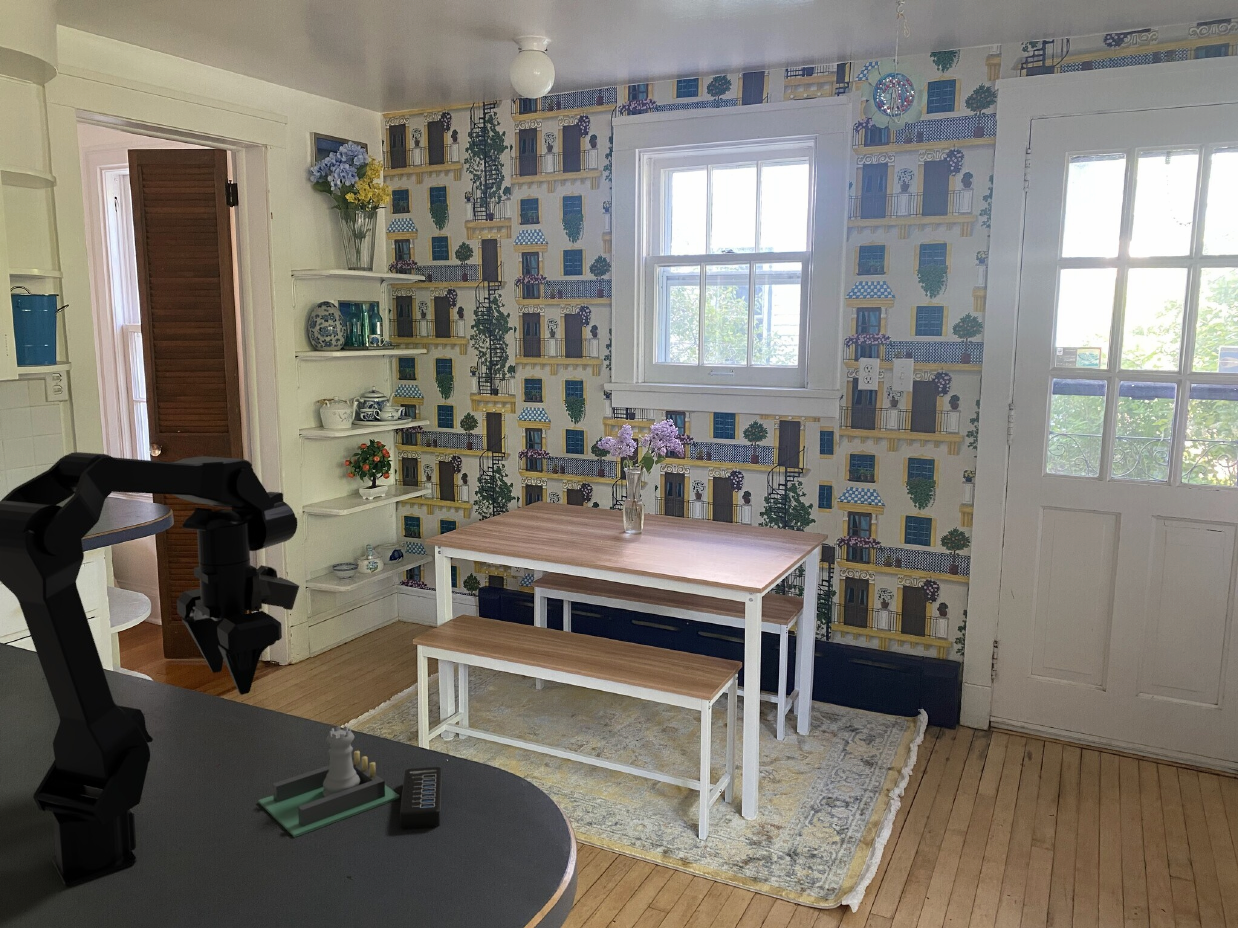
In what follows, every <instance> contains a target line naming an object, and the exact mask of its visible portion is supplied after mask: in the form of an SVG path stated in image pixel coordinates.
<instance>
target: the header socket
mask: <svg viewBox="0 0 1238 928" xmlns="http://www.w3.org/2000/svg"><path fill="white" fill-rule="evenodd" d="M360 755H361V752H360V750H355V751H354V752H353V757H352V763H353V768H354V770H355V771H356V774H358V776H359V778H360V783H359V784H360V785H358V786H355V787H353V788H350V789H347V790H344V791H341V792H338V793H335V794H333V795H330V796H327V797H325V796H324V795H323V793H322V791H323V789H324V787H323V782H324V780H325V778H326V775H327V773H328V772H329V766H330V764H329V765H326V766H323V767H320V768H317V769H314V770H313V769H312V770H310V771H307V772H304V773H301V774H298V775H295V776H291V777H289V778H286V779H283V780H280V781H276V782H274V783H272V790H273V791H272V794H273V795H270V796H267V797H263V798H260V799H258V801H257V803H258V804H259V805H260V806H261V807H263V809H265V810H266V812H268V814H270V815H271V817H272V818H274V819H275V820H276V821H277V823H279V824H280V826H282V827H283V828H284V829H285V830H286V831H287V832H288V833H289V834H290V835H291V836H292V837H293V838H297V837H299V836H301V835H305V834H307V833H311V832H312V831H315V830H319V829H320V828H323V827H326V826H329V825H331V824H333V823H338V822H339V821H342V820H345V819H347V818H351V817H353V816H356V815H358V814H360V813H361V814H362V813H363V812H367V811H369V810H371V809H375V808H378V807H379V806H383V805H385V804H387V803H391V802H393V801H396V800H398V799H400V798H401V797H400V794H398V793H397V792H395V791H394V790H393V789H392V788H390V787H389V786H387V784H385V783H386V781H385V779H383V778H381V777H380V776H379V775H377V774H376V773H377V772H376V762H375V761H372V762H369V765H368V761H369V760H368V759H369V758H368V756H365V755H364V756H360ZM368 766H369V767H368Z"/></svg>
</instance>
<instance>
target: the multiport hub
mask: <svg viewBox="0 0 1238 928" xmlns="http://www.w3.org/2000/svg"><path fill="white" fill-rule="evenodd" d="M403 776H404V777H403V784H402V790H401V791H402V792H401V801H400V807H399V808H400V810H399V826H400V830H402V831H407V830H408V831H409V830H421V829H433V828H439V827H440V826H441V811H442V810H441V806H442V781H443V780H442V767H441V766H427V767H414V768H406V769H405V770H404V775H403Z"/></svg>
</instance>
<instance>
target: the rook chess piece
mask: <svg viewBox="0 0 1238 928" xmlns="http://www.w3.org/2000/svg"><path fill="white" fill-rule="evenodd" d="M354 739H355V735H354V733H353V732H352V729H351V727H349V726H347V725H346V726H345V725H343V729H341V726H339V725H338V726H335V728H333V727H331V728H330V729H329V732H328V736H327V737H326V738H325V741H326V743H327V744H328V745H329V747H330V748H329V749H328V751H327V752H328V754H329V765H330V766H329V772H328V773H327V775H326V778H325V780H324V782H323V787H324V789H323V791H322V793H323V795H324V796H325V797H327V796H330V795H333V794H335V793H338V792H341V791H344V790H347V789H350V788H353V787H355V786H358V785H360V784H359V783H360V778H359V776H358V774H356V771H355V770H354V768H353V763H352V758H353V757H352V752H353V750H354V748H353V746H352V742H353V741H354Z"/></svg>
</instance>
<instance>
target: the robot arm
mask: <svg viewBox="0 0 1238 928" xmlns="http://www.w3.org/2000/svg"><path fill="white" fill-rule="evenodd" d="M112 493H129V494H130V493H131V494H153V495H154V494H156V495H172V496H174V497H176V498H177V499H181V500H186V501H188V502H191V503H194V504H195V503H196V504H203V505H209V506H211V507H218V508H221V509H217V510H212V509H211V508H204V507H196V508H194V510H193V512H192V514H191V515H190V516H188V517H187V518H186V519H185V521H183V523H182V528H183V529H185V530H194V531H197V532H196V533H197V534H196V535H197V548H198V549H197V551H198V566H197V567H193V576H194V577H195V578H197V579H199V588H197V589H191V590H185V591H183V592H182V593H181V594H180V596H178V598H177V599H176V610H177V611H176V612H177V615H179V616H181V621H182V623H183V624H184V625H185V627H186V628H187V630H188V633H189V634H190V636H191V637H192V639H193V641H194V642H195V644H196V646H197V647H198V648H197V649H199V651H200V654H202V657H203V658H204V660H205V662H206V664H207V665H208V667H209V669H210V671H211V672H212V673H213V674H215V673H220V672H222V670H223V665H224V663H225V665H226V666H227V669H228V670H227V671H228V672H229V674H230V676H231V679H232V681H233V683H234V686H235V687H236V689H237V692H238V694H240V695H242V696H243V695H246V694H249V693H250V692H251V689H252V684H253V682H254V678H255V674H256V670H257V667H258V664H259V661H260V659H261V656H262V653H263V652H264V651H265V650H266V649H268V648H269V647H272V646H273V645H275V644H276V642H278V641H280V640H282V639H283V632H282V622H280V621H279V620H278V619H277V618H275V617H274V616H272V615H270V614H268V613H267V612H265V611H264V610H262V609H263V605H267V606H273V607H280V608H283V609H284V610H287V611H288V610H289V611H292V610H293V609H294V605H295V603H296V599H297V595H298V593H299V589H300V585H299V584H297V583H295V582H293V581H291V580H289V579H286V578H284V577H280V576H278V571H277V569H275V568H273V567H272V566H268V565H259V566H258V568H257V567H255V566H254V565H251V556H250V555H251V552H256V551H260V550H263V549H266V548H269V547H272V546H276V545H279V544H282V543H286V542H287V541H290V540H291V539H292V538H293V537H294V536H295V534H296V532H297V529H298V518H297V516H296V514H295V512H294V510H293V508H292V507H291V505H289V504H288V503H286V502H285V501H284V493H283V492H279V491H277V492H276V491H268V492H267V490H266V488H265V487H264V485H263V484H262V482H261V480H260V479H259V478H258V475H256V473H255V471H254V468H253V464H252V463H251V462H250V460H247V459H243V458H233V457H219V456H217V457H216V456H205V455H204V456H202V455H201V456H195V457H188V458H182V459H179V460H178V461H160V460H148V459H137V458H136V459H135V458H126V457H125V458H123V457H115V456H111V455H109V454H105V453H96V452H95V453H93V452H84V451H83V452H80V451H79V452H78V451H76V452H75V451H74V452H70V453H69V454H65V455H63V456H62V457H60V458H59V459H58V460H57V461H56V462H55V463H54V464H53V465H52V466H50V467H49V468H48V469H47V470H46V471H44V472H42V473H39V474H38V475H37V476H34V477H33V478H31V479H29V480H27V481H26V482H24V483H22V484H20V485H18V486H16V487H14V488H13V489H11V491H10V492H8V493H7V494H6V495H5V496H4V497H3V498H2V499H0V583H1V584H2V585H3V586H5V588H7V589H8V590H9V591H10V592H11V593H12V594H13V595H14V597H15V598H16V599H17V601H18V603H19V604H18V605H19V606H20V609H21V612H22V615H23V618H24V621H25V623H26V625H27V629H28V631H29V635H30V636H31V637H30V638H31V640H32V643H33V646H34V649H35V651H36V654H37V657H38V660H39V664H40V666H41V668H42V672H43V674H44V677H45V680H46V682H47V685H48V687H49V691H50V694H51V697H52V699H53V702H54V706H55V708H56V710H57V715H58V717H59V722H58V725H57V729H56V731H55V733H54V737H53V740H52V748H53V754H54V761H53V762H52V764H51V765H50V767H49V769H48V770H47V772H45V773H46V774H45V775H44V777H43V779H42V780H41V782H40V783H39V785H38V786H37V788H36V790H35V791H34V793H33V799H34V802H35V803H36V806H37V808H38V809H39V810H40V811H43V812H47V811H48V812H51V813H52V823H53V825H52V826H53V835H54V848H55V849H54V851H55V854H54V855H52V856H51V862H52V864H53V866H54V868H55V869H56V872H57V873H58V875H59V878H60V879H61V881H62V882H63V884H64V886H65V887H72V886H75V885H77V884H80V883H81V884H82V883H83V882H88V881H89V880H92V879H95V878H97V877H101V876H104V875H106V874H109V873H112V872H114V871H118V870H120V869H123V868H127V867H129V866H132V865H134V864H136V863H137V857H136V855H135V853H134V852H133V851H134V850H135V849H136V848H137V836H136V822H135V813H134V812H133V808H135V807H136V806H138V805H140V804H141V799H142V794H143V791H144V790H143V789H144V786H145V782H146V776H147V771H148V767H149V763H150V761H151V750H150V744H149V743H152V742H153V740H154V739H153V737H152V736H151V735H150V734H149V732H148V730H147V725H146V718H145V715H144V713H143V711H142V710H141V709H139V708H134V707H129V706H123V705H118V704H117V703H116V702H115V699H114V697H113V694H112V691H111V688H110V685H109V682H108V679H107V675H106V672H105V669H104V666H103V664H102V660H101V657H100V654H99V651H98V647H97V644H96V640H95V639H94V635H93V631H92V630H91V629H92V628H91V626H90V623H89V620H88V617H87V614H86V611H85V607H84V605H83V602H82V601H83V600H82V598H81V595H80V592H79V589H78V586H77V579H78V576H79V573H80V570H81V568H82V564H83V562H84V559H85V553H84V552H85V551H84V546H83V539H84V537H85V536H86V535H87V534H88V533H89V532H90V531H91V530H92V529H93V528H94V527H95V526H96V525H97V524H98V523H99V521H100V517H101V514H102V511H103V508H104V504H105V501H106V499H107V497H109V496H110V495H111V494H112ZM66 500H68V501H67V502H65V503H64V505H62V506H61V505H59V504H61V503H63V502H64V501H66ZM227 508H228V509H227ZM229 508H230V509H229ZM257 610H259V611H257ZM248 611H252V612H249V613H248Z"/></svg>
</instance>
